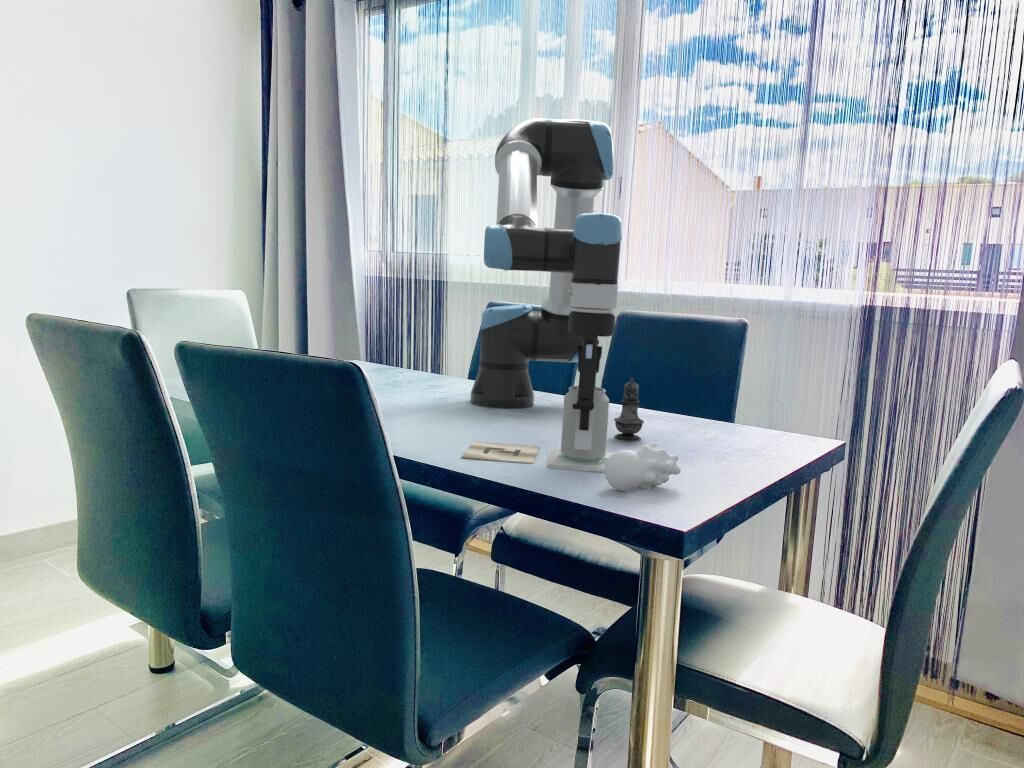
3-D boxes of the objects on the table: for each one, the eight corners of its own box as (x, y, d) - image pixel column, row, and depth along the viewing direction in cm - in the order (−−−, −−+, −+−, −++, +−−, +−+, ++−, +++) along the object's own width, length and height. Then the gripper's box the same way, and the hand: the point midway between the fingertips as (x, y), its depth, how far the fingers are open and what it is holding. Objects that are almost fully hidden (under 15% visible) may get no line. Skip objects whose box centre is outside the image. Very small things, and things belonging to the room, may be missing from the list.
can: (603, 465, 122) (608, 392, 120) (557, 461, 123) (561, 389, 121) (606, 455, 129) (611, 386, 127) (563, 451, 130) (567, 382, 129)
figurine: (589, 466, 113) (651, 455, 119) (606, 505, 110) (670, 493, 116) (609, 443, 108) (674, 432, 114) (628, 483, 105) (693, 471, 111)
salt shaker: (606, 437, 147) (610, 376, 145) (623, 433, 151) (628, 374, 149) (631, 443, 143) (636, 380, 141) (648, 439, 147) (653, 378, 145)
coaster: (552, 451, 132) (552, 448, 132) (615, 457, 131) (615, 453, 131) (547, 467, 121) (547, 463, 121) (615, 473, 120) (615, 469, 120)
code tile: (473, 442, 136) (474, 441, 136) (539, 447, 135) (539, 446, 135) (461, 458, 125) (461, 456, 125) (532, 464, 123) (532, 462, 123)
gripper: (573, 306, 135) (565, 425, 138) (565, 312, 111) (556, 455, 114) (615, 308, 134) (606, 428, 137) (616, 315, 110) (606, 459, 113)
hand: (583, 441), depth 126 cm, fingers open, 11 cm apart
